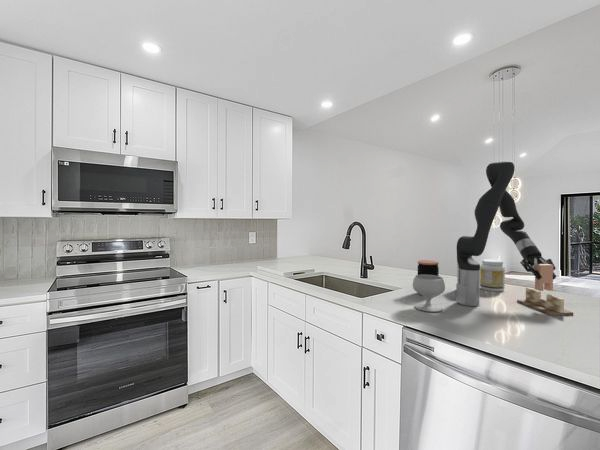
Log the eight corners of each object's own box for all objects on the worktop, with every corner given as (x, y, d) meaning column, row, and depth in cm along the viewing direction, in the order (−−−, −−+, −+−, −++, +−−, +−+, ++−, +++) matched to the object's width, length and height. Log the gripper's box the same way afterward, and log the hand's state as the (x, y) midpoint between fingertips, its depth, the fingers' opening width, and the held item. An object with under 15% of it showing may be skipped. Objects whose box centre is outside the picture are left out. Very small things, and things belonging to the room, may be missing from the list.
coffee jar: (441, 296, 161) (442, 263, 161) (421, 296, 162) (422, 263, 161) (433, 291, 172) (433, 260, 171) (414, 291, 172) (414, 260, 172)
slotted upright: (534, 289, 143) (535, 264, 142) (547, 289, 143) (548, 263, 142) (539, 290, 140) (540, 265, 139) (552, 290, 140) (553, 265, 139)
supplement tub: (484, 285, 185) (484, 258, 185) (507, 289, 176) (508, 260, 175) (476, 289, 177) (477, 260, 177) (500, 293, 168) (501, 262, 167)
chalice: (451, 310, 139) (451, 277, 138) (432, 315, 132) (432, 281, 131) (424, 302, 151) (425, 272, 150) (406, 307, 144) (406, 275, 143)
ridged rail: (517, 301, 151) (517, 287, 151) (536, 301, 151) (537, 287, 151) (550, 315, 131) (551, 299, 131) (573, 315, 131) (573, 298, 131)
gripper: (517, 245, 148) (536, 274, 136) (546, 244, 148) (567, 273, 136) (509, 254, 153) (527, 283, 142) (538, 254, 153) (557, 282, 142)
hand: (547, 278), depth 139 cm, fingers closed on slotted upright, 6 cm apart
